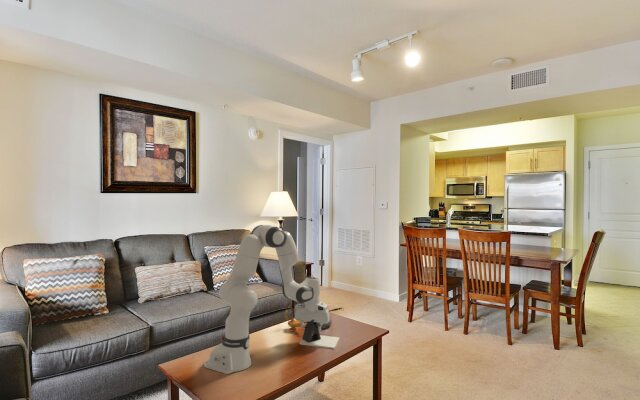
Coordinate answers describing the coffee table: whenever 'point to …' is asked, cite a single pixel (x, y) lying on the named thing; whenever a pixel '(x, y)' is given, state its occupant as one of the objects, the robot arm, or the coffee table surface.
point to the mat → (323, 342)
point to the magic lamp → (293, 323)
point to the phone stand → (311, 332)
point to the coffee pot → (329, 320)
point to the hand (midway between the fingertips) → (311, 329)
